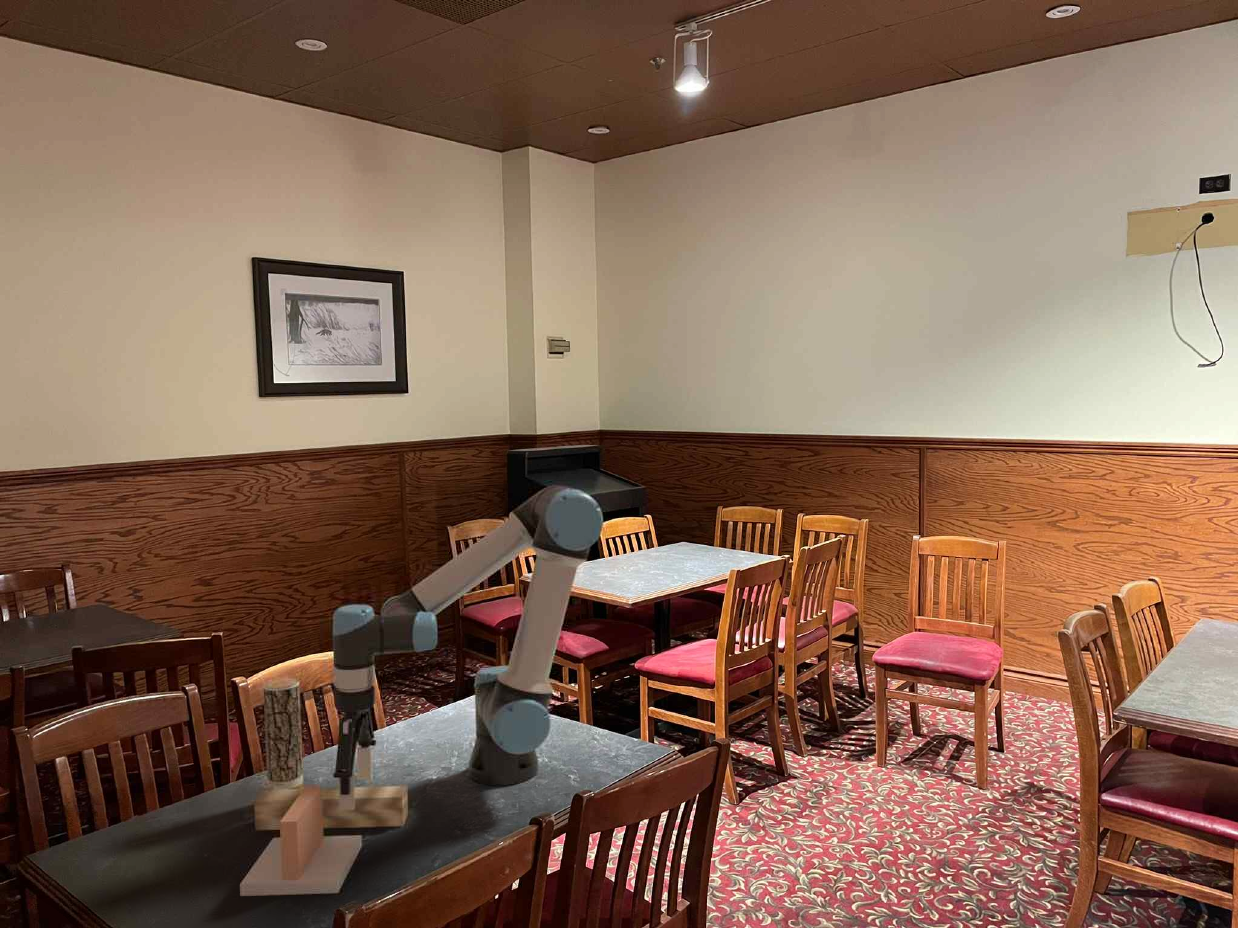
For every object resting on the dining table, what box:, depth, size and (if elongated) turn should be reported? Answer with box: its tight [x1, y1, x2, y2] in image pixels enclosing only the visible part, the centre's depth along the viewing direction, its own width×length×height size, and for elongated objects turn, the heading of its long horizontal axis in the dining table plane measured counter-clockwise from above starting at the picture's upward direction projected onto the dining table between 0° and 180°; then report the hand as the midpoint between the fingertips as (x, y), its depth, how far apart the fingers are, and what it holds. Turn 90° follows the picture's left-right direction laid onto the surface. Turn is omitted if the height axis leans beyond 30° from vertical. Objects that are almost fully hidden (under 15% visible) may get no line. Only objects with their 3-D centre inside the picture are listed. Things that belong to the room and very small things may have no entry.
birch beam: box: [253, 785, 409, 831], centre depth 176 cm, size 28×5×6 cm, turn 92°
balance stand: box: [239, 785, 363, 897], centre depth 158 cm, size 16×16×12 cm
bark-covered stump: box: [262, 677, 304, 790], centre depth 184 cm, size 7×7×25 cm
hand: (356, 793), depth 176 cm, fingers open, 13 cm apart
